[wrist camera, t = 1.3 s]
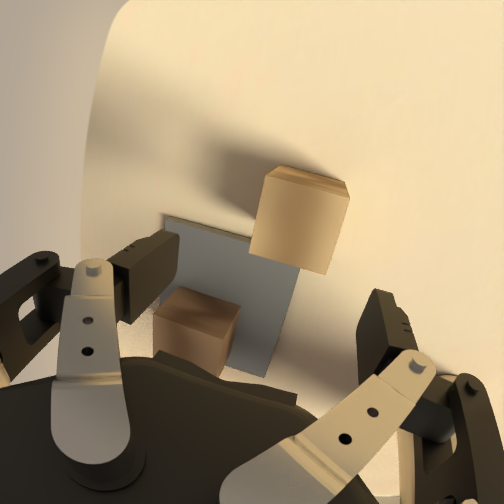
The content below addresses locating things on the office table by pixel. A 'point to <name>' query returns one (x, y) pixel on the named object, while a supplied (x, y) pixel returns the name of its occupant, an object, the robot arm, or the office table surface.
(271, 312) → the plate
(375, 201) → the office table surface
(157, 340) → the walnut block
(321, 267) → the oak block
